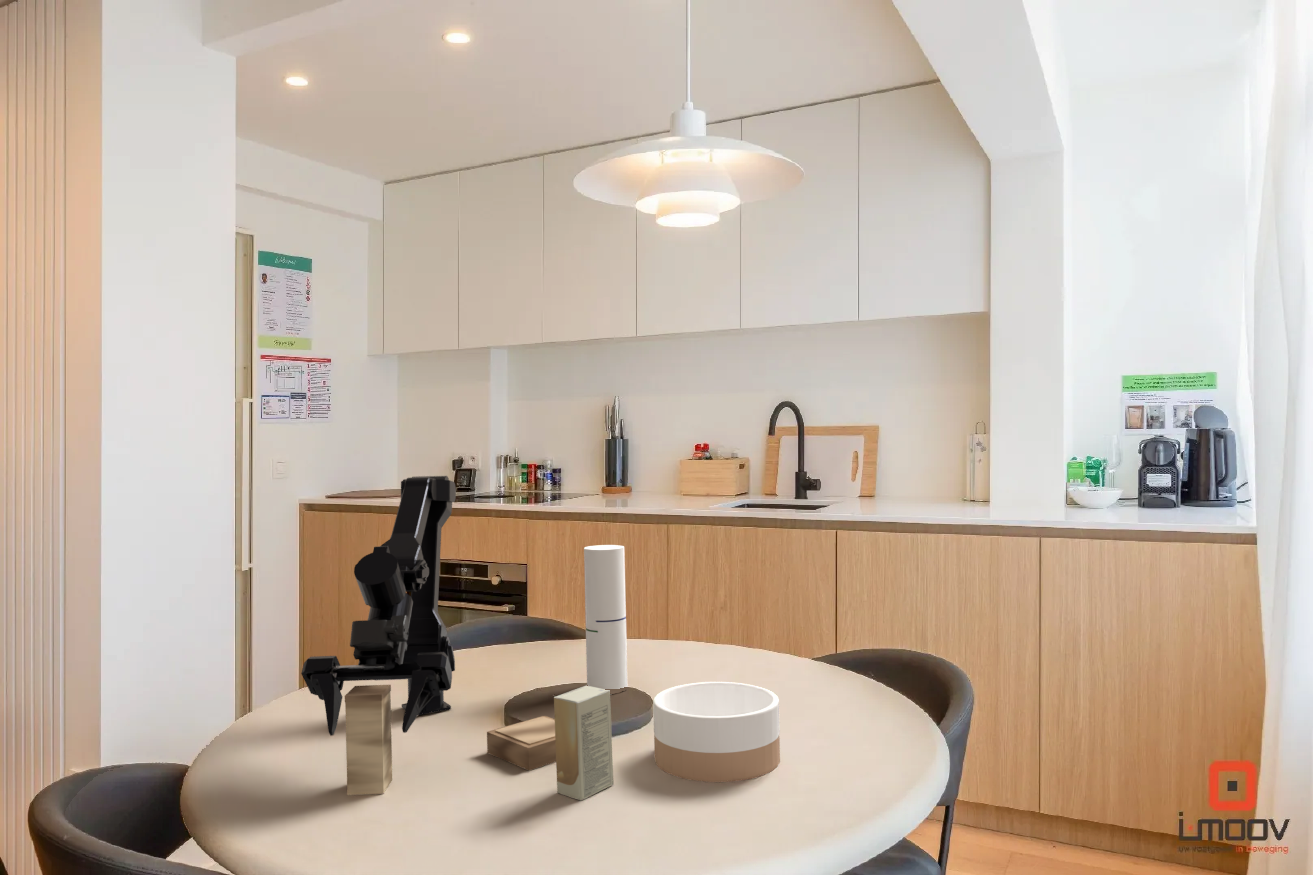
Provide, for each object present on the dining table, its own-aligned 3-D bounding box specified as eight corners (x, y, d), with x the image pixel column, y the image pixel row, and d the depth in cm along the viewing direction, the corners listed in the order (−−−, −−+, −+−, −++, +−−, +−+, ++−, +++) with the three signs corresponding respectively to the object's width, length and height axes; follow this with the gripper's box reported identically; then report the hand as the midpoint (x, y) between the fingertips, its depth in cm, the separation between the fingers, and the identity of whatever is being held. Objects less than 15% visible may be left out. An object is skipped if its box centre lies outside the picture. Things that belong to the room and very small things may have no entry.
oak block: (357, 781, 117) (355, 685, 117) (392, 779, 117) (390, 684, 117) (346, 795, 112) (344, 695, 112) (383, 793, 112) (381, 694, 112)
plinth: (487, 752, 126) (486, 730, 126) (544, 735, 133) (543, 714, 133) (529, 770, 119) (528, 746, 119) (587, 751, 126) (586, 728, 126)
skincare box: (589, 777, 116) (587, 683, 116) (614, 785, 113) (612, 689, 113) (554, 793, 111) (551, 695, 111) (579, 802, 108) (576, 701, 108)
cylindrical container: (622, 695, 153) (618, 549, 154) (582, 693, 155) (578, 549, 155) (631, 683, 160) (628, 544, 161) (593, 682, 162) (590, 544, 162)
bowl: (637, 748, 127) (635, 689, 127) (745, 731, 133) (744, 675, 133) (683, 791, 111) (681, 724, 111) (804, 770, 117) (802, 707, 117)
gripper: (304, 596, 119) (275, 703, 108) (446, 591, 120) (431, 697, 109) (324, 642, 127) (299, 746, 115) (457, 638, 128) (445, 741, 116)
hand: (367, 732), depth 114 cm, fingers open, 9 cm apart
